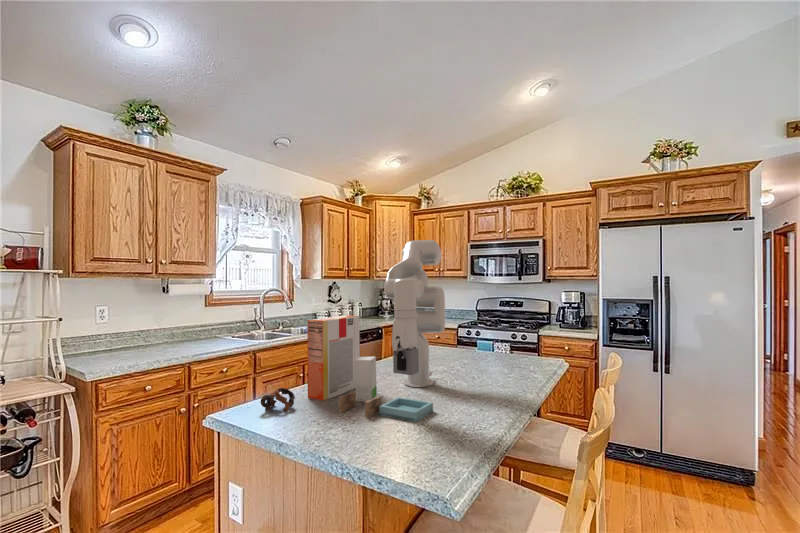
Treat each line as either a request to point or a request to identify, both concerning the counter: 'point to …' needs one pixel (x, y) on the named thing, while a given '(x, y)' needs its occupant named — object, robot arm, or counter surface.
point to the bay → (350, 401)
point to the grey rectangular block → (408, 362)
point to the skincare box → (365, 378)
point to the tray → (406, 409)
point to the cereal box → (332, 355)
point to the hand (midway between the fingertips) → (405, 368)
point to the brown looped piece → (279, 397)
